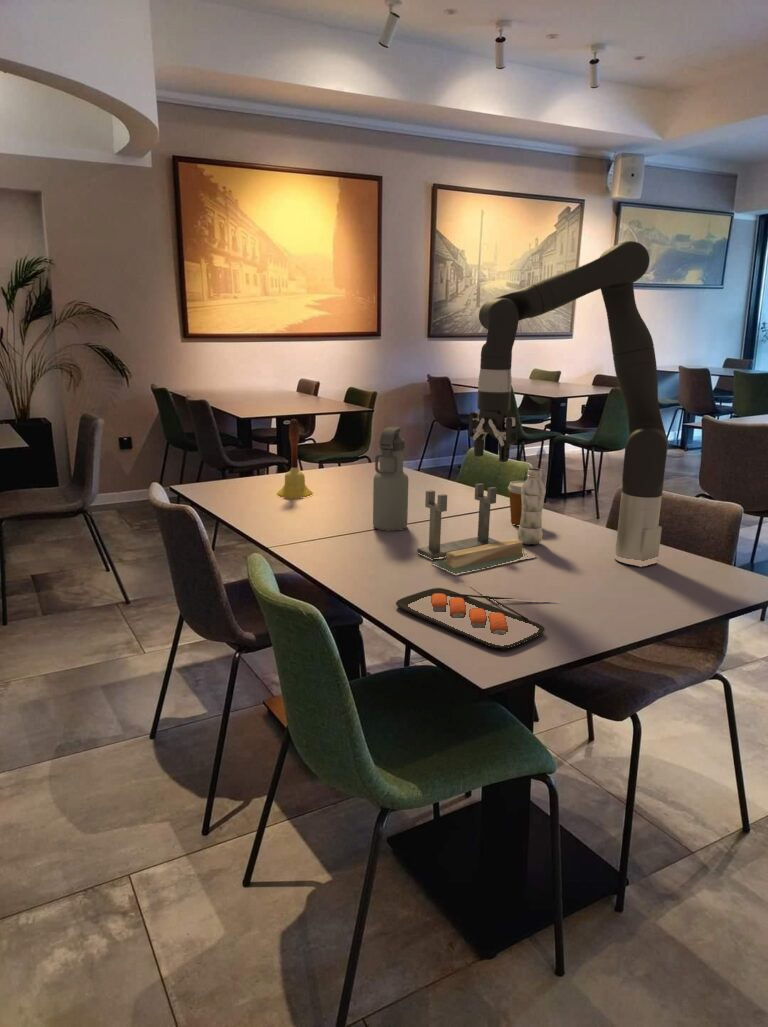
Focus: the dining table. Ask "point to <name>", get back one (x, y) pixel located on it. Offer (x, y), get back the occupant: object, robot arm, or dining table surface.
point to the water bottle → (390, 483)
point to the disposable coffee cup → (515, 501)
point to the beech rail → (483, 553)
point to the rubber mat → (478, 564)
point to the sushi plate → (475, 614)
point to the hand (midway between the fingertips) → (490, 458)
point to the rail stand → (441, 549)
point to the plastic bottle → (532, 508)
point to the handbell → (294, 469)
